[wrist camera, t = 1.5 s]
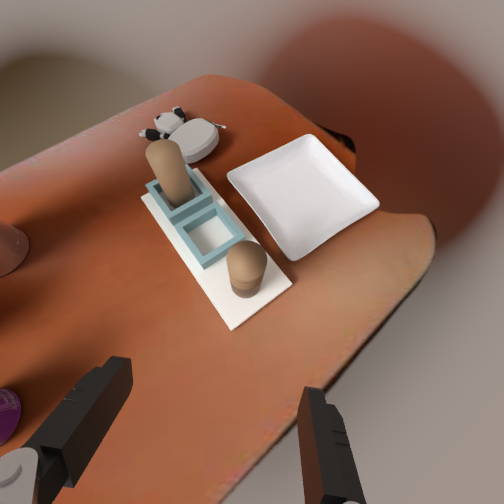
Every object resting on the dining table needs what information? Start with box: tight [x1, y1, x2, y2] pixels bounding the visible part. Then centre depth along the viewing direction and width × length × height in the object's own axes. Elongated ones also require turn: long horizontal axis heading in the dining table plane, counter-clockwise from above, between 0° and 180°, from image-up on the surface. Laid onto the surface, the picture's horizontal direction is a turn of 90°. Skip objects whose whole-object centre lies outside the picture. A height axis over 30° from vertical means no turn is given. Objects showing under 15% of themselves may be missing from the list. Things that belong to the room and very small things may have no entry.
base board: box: [141, 139, 292, 331], centre depth 36 cm, size 12×29×12 cm, turn 37°
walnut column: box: [226, 240, 268, 298], centre depth 32 cm, size 5×5×11 cm
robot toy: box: [140, 106, 226, 164], centre depth 49 cm, size 12×4×15 cm
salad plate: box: [227, 134, 380, 261], centre depth 45 cm, size 21×21×3 cm
